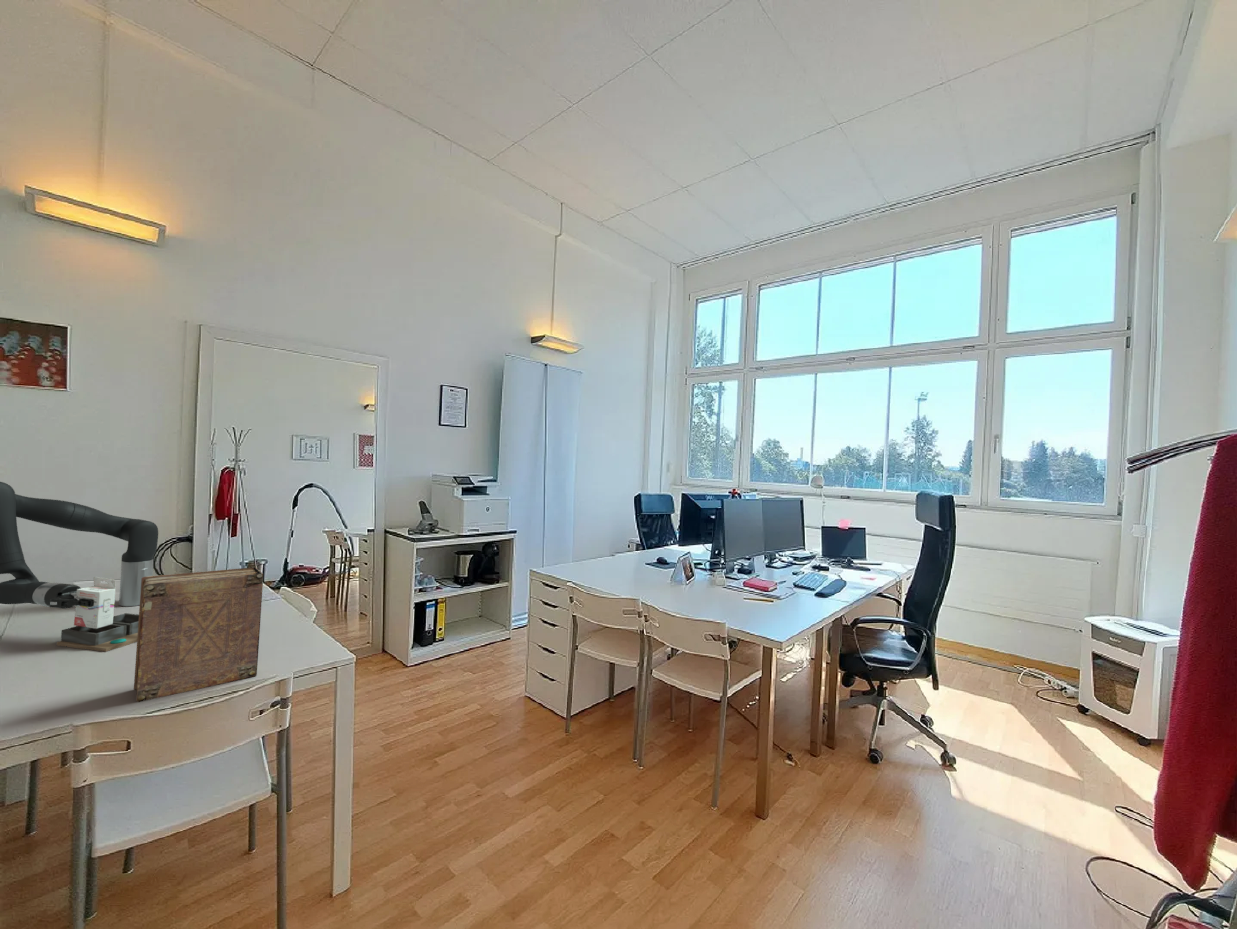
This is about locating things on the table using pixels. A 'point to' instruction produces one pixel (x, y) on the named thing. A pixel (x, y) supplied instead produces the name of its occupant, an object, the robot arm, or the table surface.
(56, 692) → the table surface
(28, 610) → the table surface
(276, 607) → the table surface
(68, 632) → the socket board
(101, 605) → the ink cartridge box
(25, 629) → the table surface
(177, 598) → the book
